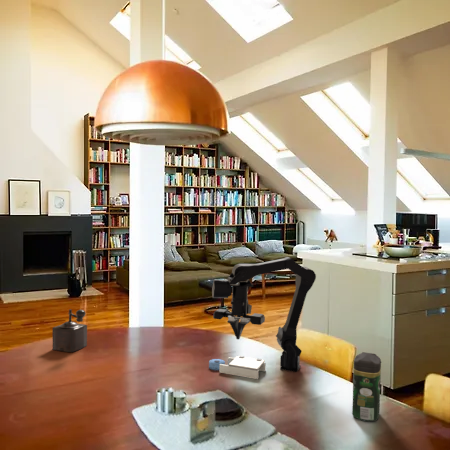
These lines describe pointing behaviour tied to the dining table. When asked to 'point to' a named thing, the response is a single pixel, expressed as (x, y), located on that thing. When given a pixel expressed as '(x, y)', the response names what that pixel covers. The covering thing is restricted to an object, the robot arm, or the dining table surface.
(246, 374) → the white channel bracket
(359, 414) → the coffee jar
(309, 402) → the dining table surface
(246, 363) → the cover
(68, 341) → the manual coffee grinder
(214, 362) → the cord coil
